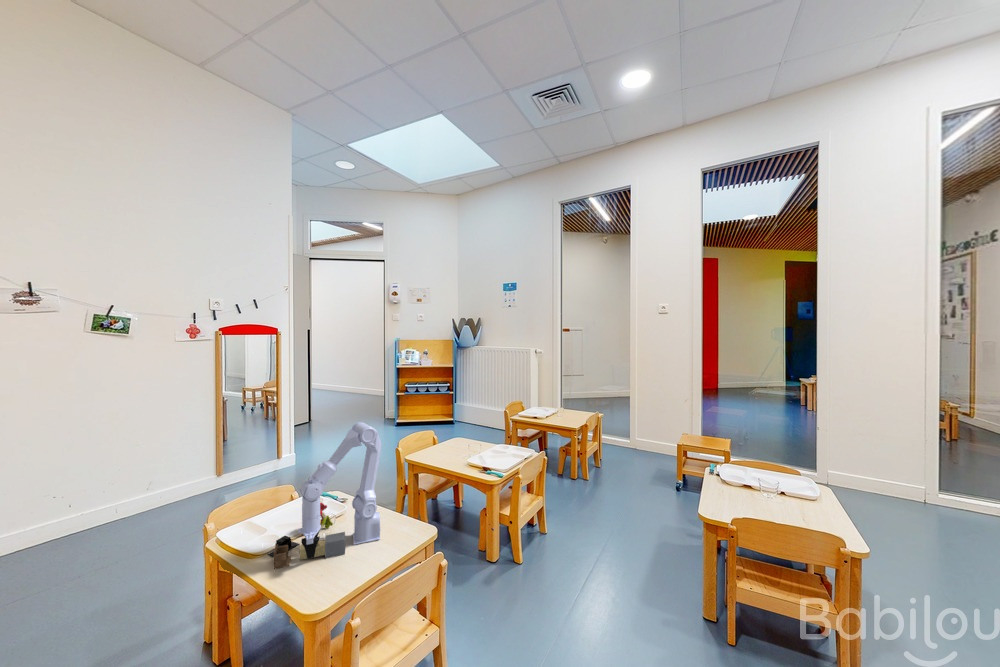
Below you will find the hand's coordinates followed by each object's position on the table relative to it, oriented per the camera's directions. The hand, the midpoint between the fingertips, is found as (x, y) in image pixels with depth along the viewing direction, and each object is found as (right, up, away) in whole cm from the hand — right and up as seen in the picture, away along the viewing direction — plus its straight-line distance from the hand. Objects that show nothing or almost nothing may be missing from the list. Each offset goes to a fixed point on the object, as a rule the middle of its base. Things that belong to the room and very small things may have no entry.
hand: (311, 553), depth 135 cm
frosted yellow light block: (+3, -1, +1) cm, 4 cm away
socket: (-8, -1, -3) cm, 9 cm away
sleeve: (+7, -1, +3) cm, 8 cm away
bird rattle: (-5, -1, +17) cm, 18 cm away
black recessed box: (-12, -2, +4) cm, 13 cm away
